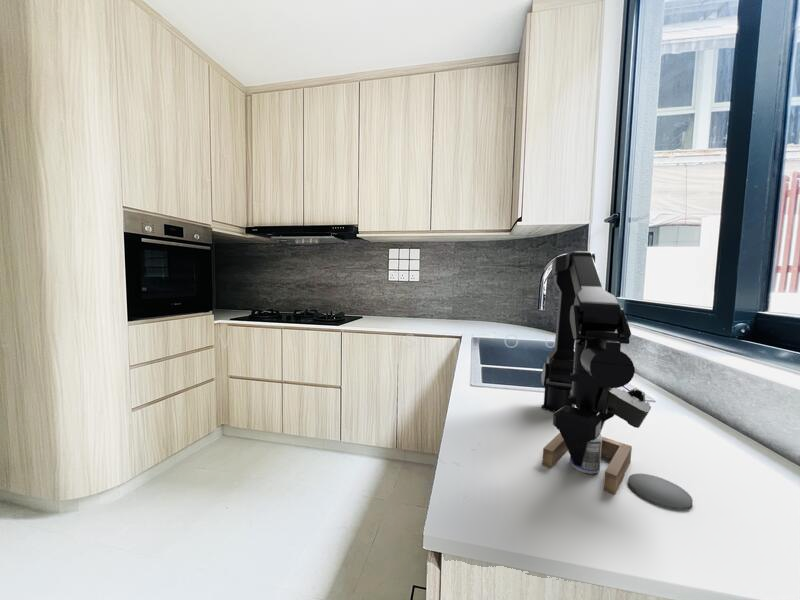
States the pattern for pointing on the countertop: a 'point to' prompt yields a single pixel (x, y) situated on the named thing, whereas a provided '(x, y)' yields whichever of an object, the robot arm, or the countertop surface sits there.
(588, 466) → the pill bottle
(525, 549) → the countertop surface
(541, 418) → the countertop surface
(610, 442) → the nook
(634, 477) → the coaster
